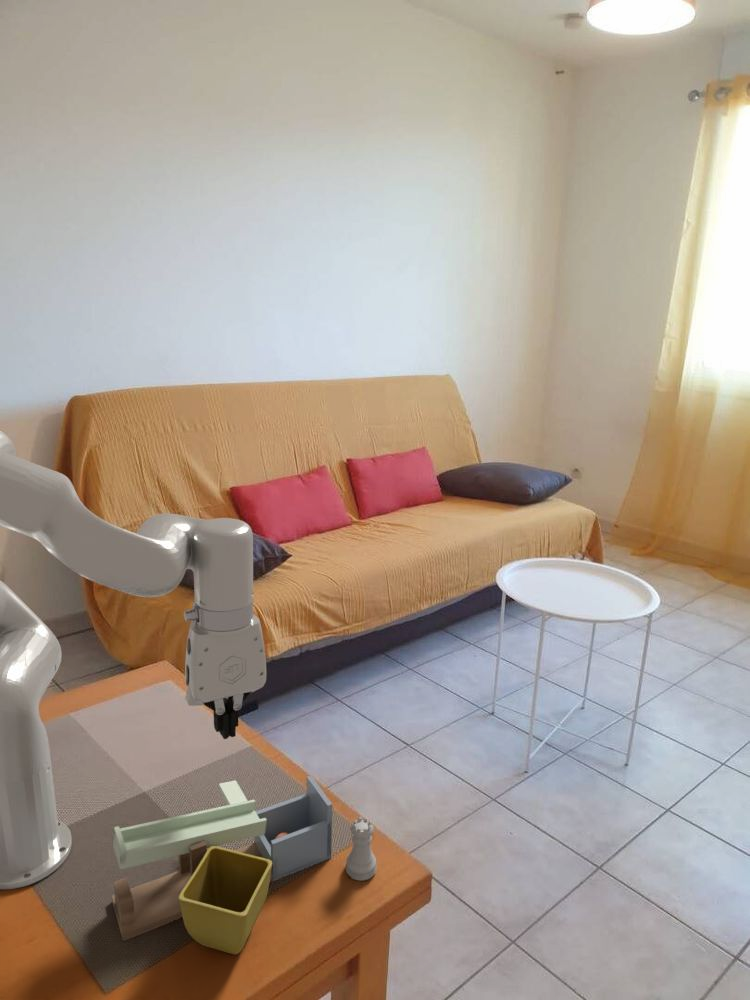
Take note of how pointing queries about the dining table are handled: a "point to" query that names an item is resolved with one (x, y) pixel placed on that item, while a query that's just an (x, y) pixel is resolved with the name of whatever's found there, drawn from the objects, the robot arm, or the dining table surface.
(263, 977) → the dining table surface
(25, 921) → the dining table surface
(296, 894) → the dining table surface
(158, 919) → the catapult base
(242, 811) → the lever
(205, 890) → the flower pot
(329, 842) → the blue-grey box
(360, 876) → the rook chess piece
